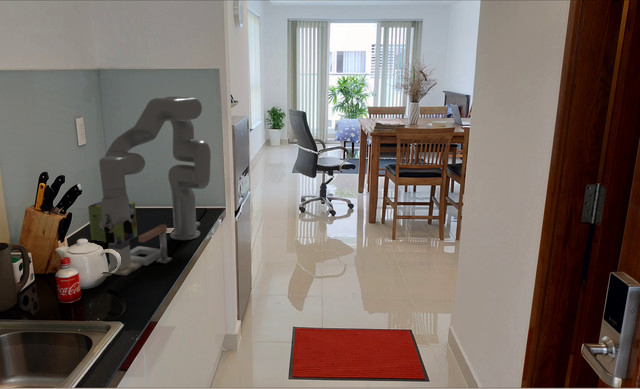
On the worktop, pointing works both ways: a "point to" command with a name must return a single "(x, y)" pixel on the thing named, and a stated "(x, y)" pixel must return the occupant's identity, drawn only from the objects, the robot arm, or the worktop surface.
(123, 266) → the plug
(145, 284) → the worktop surface
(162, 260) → the clip post
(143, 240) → the clip
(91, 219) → the protein box
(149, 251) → the socket block
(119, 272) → the birch board
